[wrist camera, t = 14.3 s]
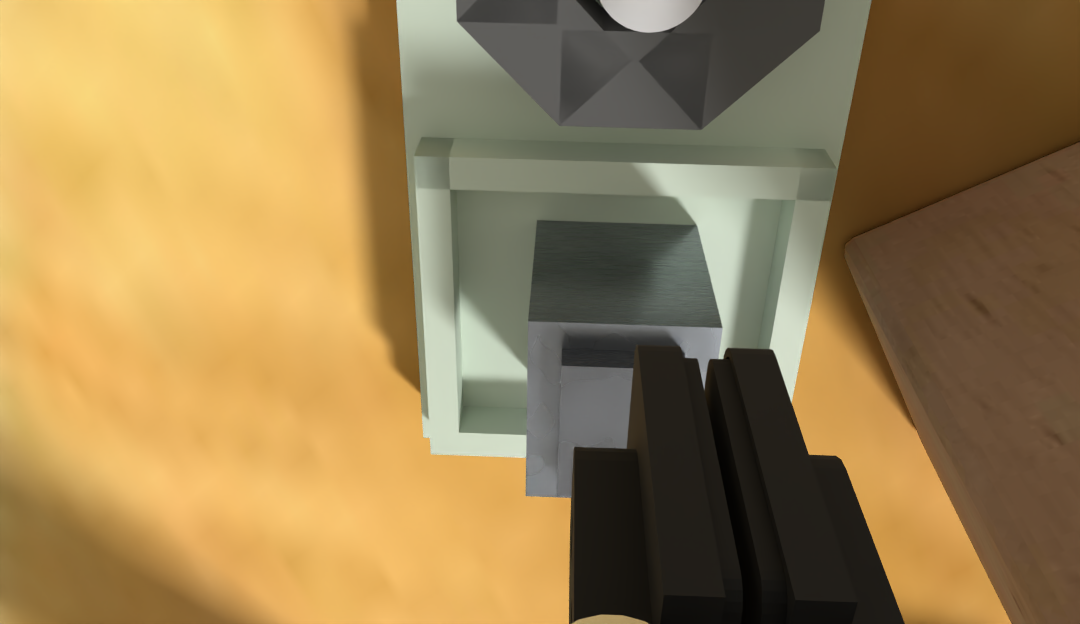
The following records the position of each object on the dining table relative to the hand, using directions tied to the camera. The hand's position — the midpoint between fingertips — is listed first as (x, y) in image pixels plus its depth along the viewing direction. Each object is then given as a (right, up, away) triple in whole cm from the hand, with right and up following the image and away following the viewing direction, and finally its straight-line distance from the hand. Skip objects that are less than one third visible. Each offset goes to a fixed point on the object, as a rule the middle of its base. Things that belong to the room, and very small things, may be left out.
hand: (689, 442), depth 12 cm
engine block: (+1, +2, +19) cm, 19 cm away
